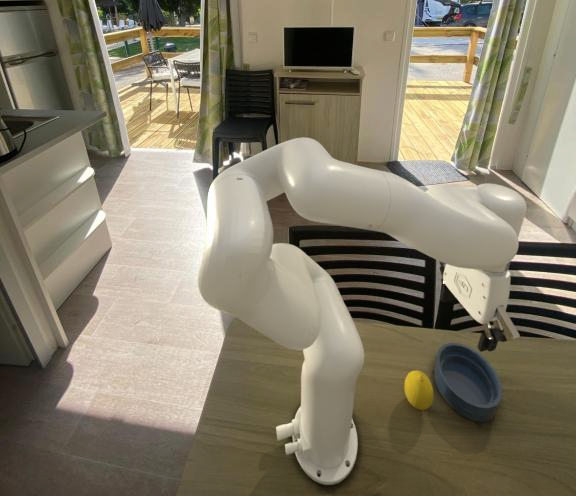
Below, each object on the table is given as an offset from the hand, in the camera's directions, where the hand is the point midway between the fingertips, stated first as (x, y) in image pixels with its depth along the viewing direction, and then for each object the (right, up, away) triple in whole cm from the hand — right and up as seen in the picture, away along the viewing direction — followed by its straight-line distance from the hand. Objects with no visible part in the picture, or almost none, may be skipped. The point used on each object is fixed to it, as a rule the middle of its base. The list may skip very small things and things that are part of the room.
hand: (464, 322), depth 57 cm
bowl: (+5, -20, +8) cm, 22 cm away
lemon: (-7, -21, +6) cm, 23 cm away
